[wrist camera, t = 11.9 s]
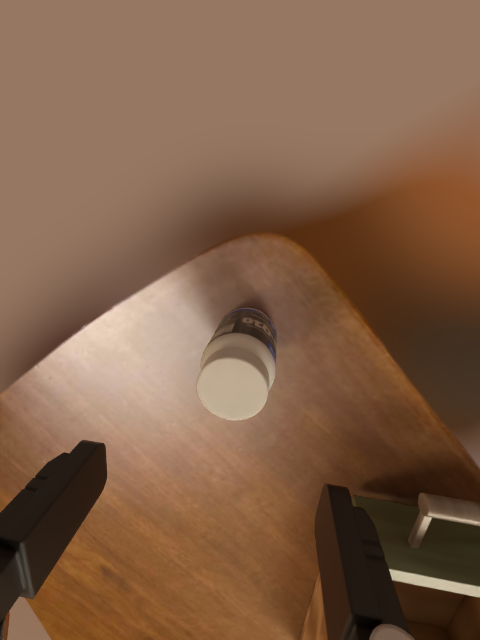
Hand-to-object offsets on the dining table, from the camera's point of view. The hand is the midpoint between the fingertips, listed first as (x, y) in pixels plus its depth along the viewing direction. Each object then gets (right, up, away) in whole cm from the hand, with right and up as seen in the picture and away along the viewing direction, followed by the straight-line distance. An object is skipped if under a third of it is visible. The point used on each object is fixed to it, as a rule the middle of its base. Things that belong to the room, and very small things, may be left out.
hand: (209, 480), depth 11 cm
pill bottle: (+2, +5, +13) cm, 14 cm away
